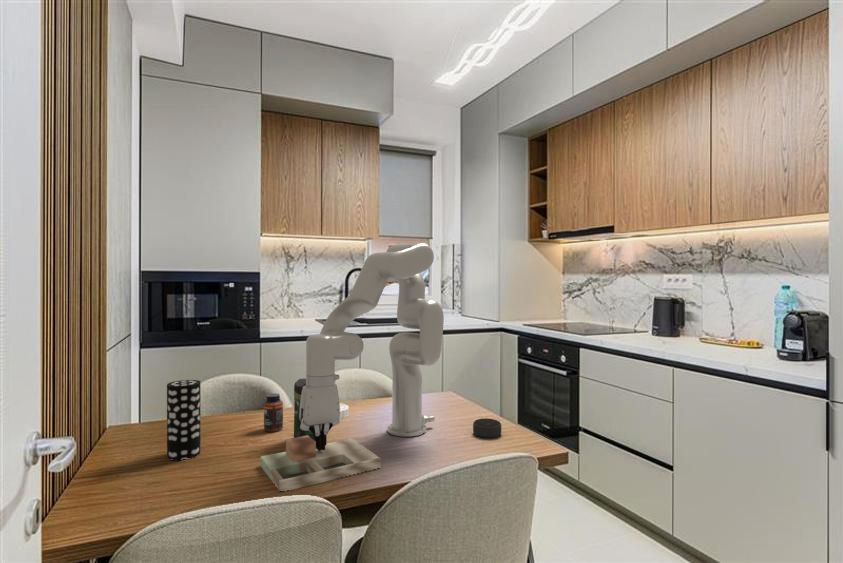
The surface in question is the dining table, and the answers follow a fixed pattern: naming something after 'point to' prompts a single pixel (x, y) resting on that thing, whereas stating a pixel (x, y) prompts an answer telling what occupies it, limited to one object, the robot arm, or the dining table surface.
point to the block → (300, 448)
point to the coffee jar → (297, 398)
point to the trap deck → (319, 465)
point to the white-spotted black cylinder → (183, 419)
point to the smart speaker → (487, 428)
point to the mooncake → (343, 410)
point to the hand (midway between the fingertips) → (320, 448)
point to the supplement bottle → (273, 413)
